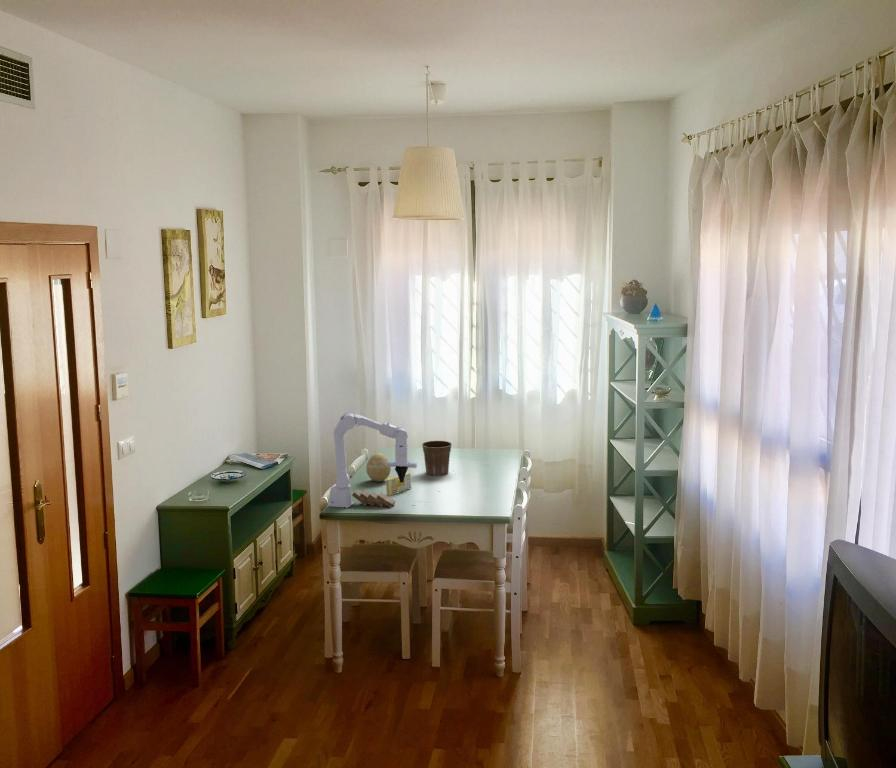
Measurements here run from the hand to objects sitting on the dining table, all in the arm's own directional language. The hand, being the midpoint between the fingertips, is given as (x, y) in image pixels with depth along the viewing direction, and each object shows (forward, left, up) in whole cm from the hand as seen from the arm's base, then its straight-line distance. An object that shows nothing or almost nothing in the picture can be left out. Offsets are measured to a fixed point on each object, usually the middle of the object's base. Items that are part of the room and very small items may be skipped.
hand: (401, 481), depth 409 cm
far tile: (-3, -6, -10) cm, 11 cm away
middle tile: (-7, -6, -10) cm, 13 cm away
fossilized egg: (-25, +35, -11) cm, 44 cm away
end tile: (-15, -6, -10) cm, 19 cm away
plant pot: (0, +58, -11) cm, 59 cm away
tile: (-11, -6, -10) cm, 16 cm away
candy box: (-8, +18, -11) cm, 23 cm away
